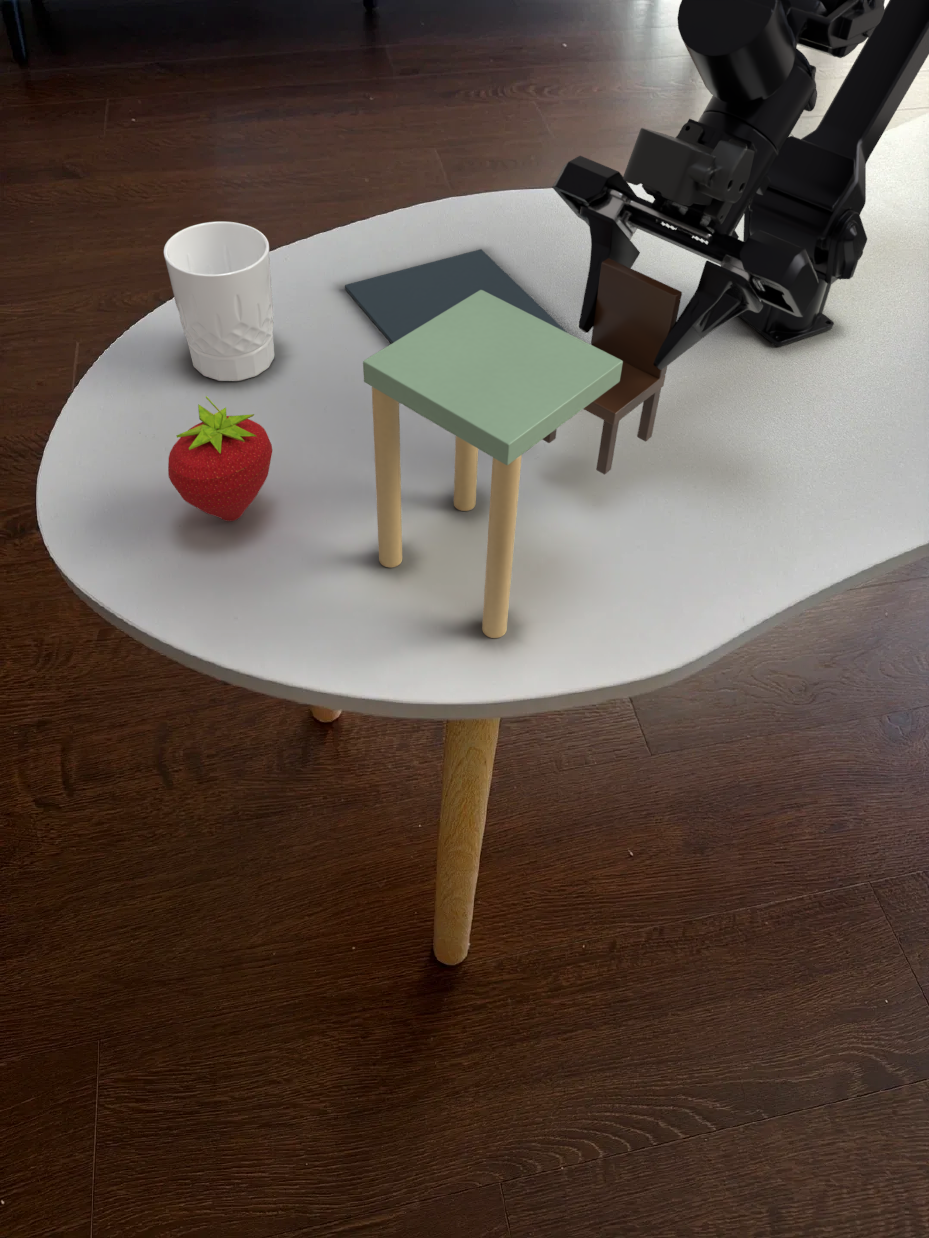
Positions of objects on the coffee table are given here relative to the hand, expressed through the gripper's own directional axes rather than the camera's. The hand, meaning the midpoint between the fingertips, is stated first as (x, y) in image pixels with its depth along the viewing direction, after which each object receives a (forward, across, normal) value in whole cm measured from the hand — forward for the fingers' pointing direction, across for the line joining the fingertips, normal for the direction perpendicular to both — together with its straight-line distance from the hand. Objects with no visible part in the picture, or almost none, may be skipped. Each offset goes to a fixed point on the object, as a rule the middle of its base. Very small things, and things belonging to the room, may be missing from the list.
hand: (618, 348), depth 75 cm
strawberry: (+24, -16, -9) cm, 30 cm away
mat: (+2, -20, +12) cm, 24 cm away
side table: (+17, 0, -2) cm, 17 cm away
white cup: (+15, -30, 0) cm, 34 cm away
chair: (+6, 0, +4) cm, 7 cm away
